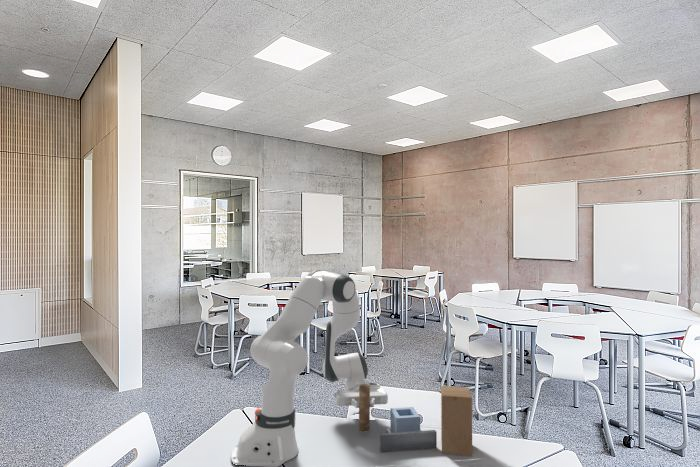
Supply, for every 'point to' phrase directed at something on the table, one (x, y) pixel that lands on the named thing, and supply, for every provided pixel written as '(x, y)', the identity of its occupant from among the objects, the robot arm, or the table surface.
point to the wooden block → (456, 420)
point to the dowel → (364, 407)
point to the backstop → (407, 440)
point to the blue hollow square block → (404, 420)
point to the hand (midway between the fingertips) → (364, 405)
